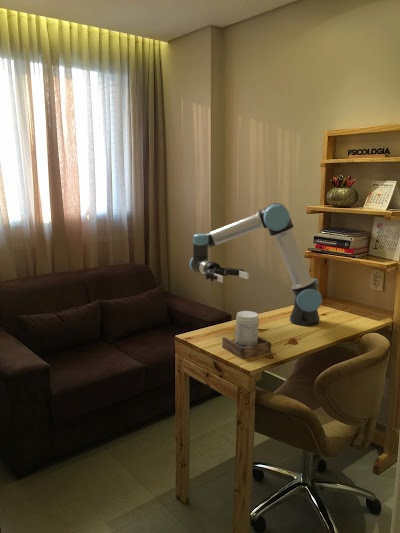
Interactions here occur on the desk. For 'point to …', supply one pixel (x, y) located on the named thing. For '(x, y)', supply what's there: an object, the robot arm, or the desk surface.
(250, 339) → the supplement tub
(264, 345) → the tray
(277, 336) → the desk surface
